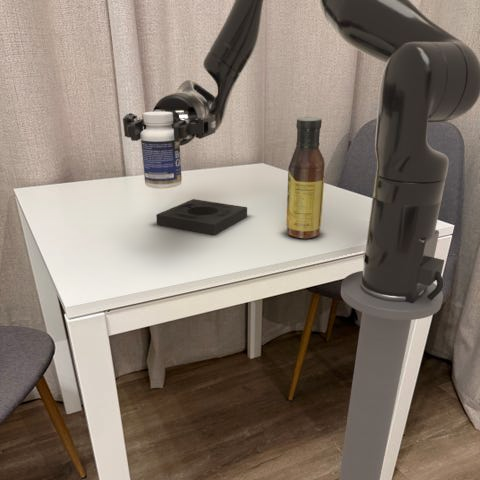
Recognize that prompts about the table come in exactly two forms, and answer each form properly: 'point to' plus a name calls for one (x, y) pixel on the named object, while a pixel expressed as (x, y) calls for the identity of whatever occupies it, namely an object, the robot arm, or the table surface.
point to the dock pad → (202, 216)
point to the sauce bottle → (305, 181)
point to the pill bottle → (160, 151)
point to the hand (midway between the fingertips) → (154, 133)
